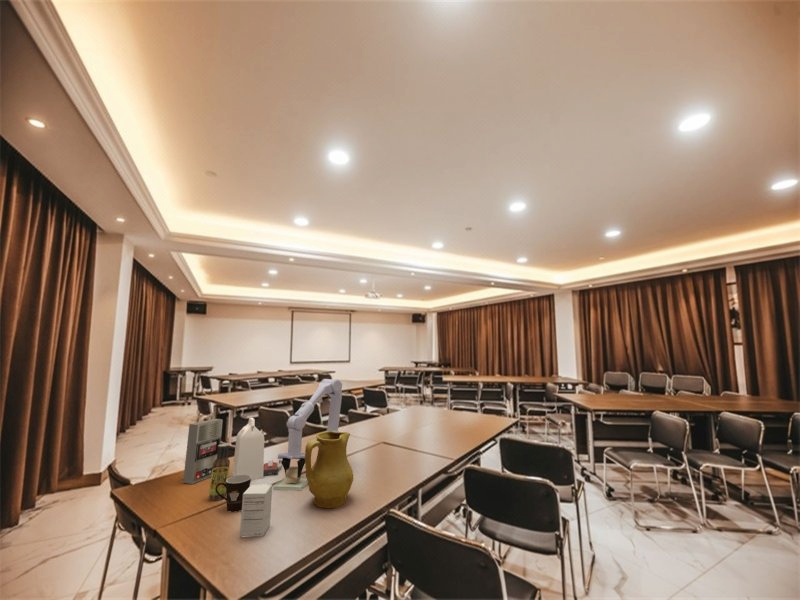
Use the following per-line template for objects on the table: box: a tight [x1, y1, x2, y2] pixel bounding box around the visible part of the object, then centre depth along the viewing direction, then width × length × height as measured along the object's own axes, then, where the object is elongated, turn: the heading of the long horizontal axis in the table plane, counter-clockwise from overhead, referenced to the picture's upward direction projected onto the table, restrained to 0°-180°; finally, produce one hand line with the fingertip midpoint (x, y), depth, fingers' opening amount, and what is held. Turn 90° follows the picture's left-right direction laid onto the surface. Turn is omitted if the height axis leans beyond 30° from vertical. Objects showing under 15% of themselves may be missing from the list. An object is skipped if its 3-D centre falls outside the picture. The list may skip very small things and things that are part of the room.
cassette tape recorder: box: [182, 418, 224, 485], centre depth 150 cm, size 14×6×25 cm, turn 161°
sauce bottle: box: [208, 443, 231, 501], centre depth 129 cm, size 6×6×20 cm
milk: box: [231, 417, 265, 481], centre depth 152 cm, size 12×12×26 cm
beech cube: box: [285, 465, 302, 483], centre depth 142 cm, size 5×5×5 cm
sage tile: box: [272, 476, 308, 491], centre depth 141 cm, size 12×12×1 cm
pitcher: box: [304, 431, 354, 509], centre depth 126 cm, size 17×19×25 cm
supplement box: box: [239, 483, 273, 538], centre depth 104 cm, size 7×7×13 cm
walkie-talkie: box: [263, 459, 283, 478], centre depth 160 cm, size 9×4×20 cm
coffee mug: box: [215, 475, 252, 513], centre depth 120 cm, size 12×9×10 cm
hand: (293, 476), depth 141 cm, fingers closed on beech cube, 5 cm apart
